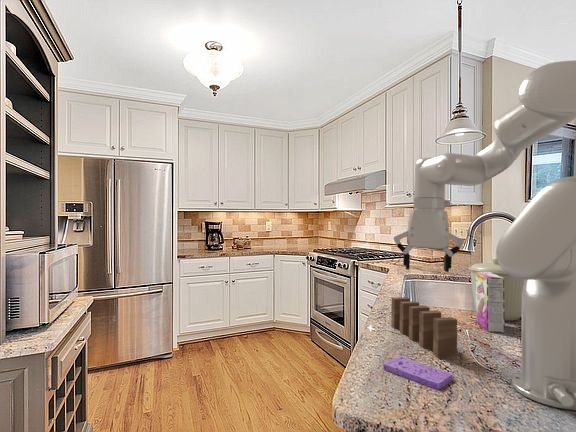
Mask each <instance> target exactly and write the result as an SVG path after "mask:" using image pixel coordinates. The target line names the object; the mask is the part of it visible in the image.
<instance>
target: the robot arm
mask: <svg viewBox="0 0 576 432" xmlns="http://www.w3.org/2000/svg"><path fill="white" fill-rule="evenodd" d="M518 89H519V90H518V95H517V96H518V100H519V103H517V104H516V105H513V107H512V108H510V109H509V110H507V111H506V112H504V113H503V114H501V115H500V116H498V118H496V120H494V121H495V122H494V124H493V129H494V133H495V135H496V138H495V139H494V141H493V142H492V143H491V144H489V145H488V146H487V147H485V148H484V149H482V150H481V151H479V152H478V153H477V154H474V155H469V154H460V153H454V152H453V153H452V152H449V153H442V154H439V155H437V156H433V157H422V158H420V159H418V160H417V161H416V162H415V164H414V165H415V167H414V191H413V192H414V193H413V194H414V195H413V209H411V210H409V211H410V212H409V215H408V221H407V230H406V231H404V232H402V233H400V234H397V235H395V236H393V240H394V243H395V244H396V247H397V248H398V249H399V250H400V251H401V252H402V253H403V261H402V262H403V264H402V265H403V266H405V269H406V270H410V264H411V255H410V252H411V250H413V248H415V249H435V250H436V249H437V250H442V251H443V252H444V253H445V255H443V271H444V272H445V273H449V272H450V270H451V269H452V257H454V255H456V254H457V252H459V251H460V249H461V247H462V246H463V244H464V242H465V241H464V240H463V239H462V238H460V237H458V236H456V235H454V234H453V233H450V223H449V216H448V211H447V210H446V208H449V207H451V204H452V203H451V201H450V200H449V201H448V200H446V198H445V197H446V185H449V186H450V185H451V186H452V185H453V186H464V187H465V186H466V187H474V186H478V185H481V184H482V183H483V184H484V183H485V182H488V181H489V180H491V179H492V178H495V176H496V177H497V176H498V175H500V174H501V173H503V172H504V171H506V170H508V168H509V167H511V166H512V165H513V164H514V163H515V161H516V160H517V159H518V158H519V156H520V154H521V153H522V152H523V151H524V150H526V149H527V148H529V147H530V146H532V145H534V144H536V143H537V142H539V141H540V140H542V139H544V138H545V137H547V136H549V135H550V134H552V133H554V132H555V131H557V130H559V129H561V128H562V127H564V126H566V125H567V124H569V123H570V122H572V121H574V120H576V60H574V59H573V60H562V61H554V62H551V63H546V64H544V65H541V66H539V67H537V68H535V69H534V70H532V71H531V72H530V73H529V74H528V75H527V76H526V77H525V78H524V80H523V81H522V82H521V84H520V86H519V88H518ZM404 238H406V243H407V245H406V246H405V247H404V245H403V244H402V243H401V240H402V239H404ZM450 240H452V241H454V242H455V244H454V246H453V247H451V248H449V245H450ZM495 252H496V253H495V256H496V257H497V261H498V263H499V265H500V267H501V268H502V269H503V271H505V272H506V273H507V274H509V275H510V276H512V277H515V278H518V279H522V280H525V281H524V285H523V291H522V314H521V373H518V374H516V375H514V376H512V379H511V384H512V387H513V388H514V389H515V390H516V392H518V393H519V394H520V395H522V396H524V397H526V398H529V399H530V400H532V401H536V402H537V403H540V404H543V405H546V406H550V407H554V408H559V409H563V410H570V411H576V176H566V177H562V178H561V177H560V178H558V179H556V180H554V181H552V182H550V183H548V184H547V185H546V186H544V187H543V188H542V189H540V190H539V191H538V192H537V193H536V194H535V195H534V196H533V198H532V199H531V200H530V201H529V202H528V204H526V206H525V207H524V208H523V210H521V212H520V213H519V214H518V215H517V216H516V218H515V219H514V220H513V221H512V223H511V224H510V225H509V227H507V229H506V230H505V231H504V233H502V235H501V237H500V239H499V240H498V242H497V245H496V251H495Z"/></svg>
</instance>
